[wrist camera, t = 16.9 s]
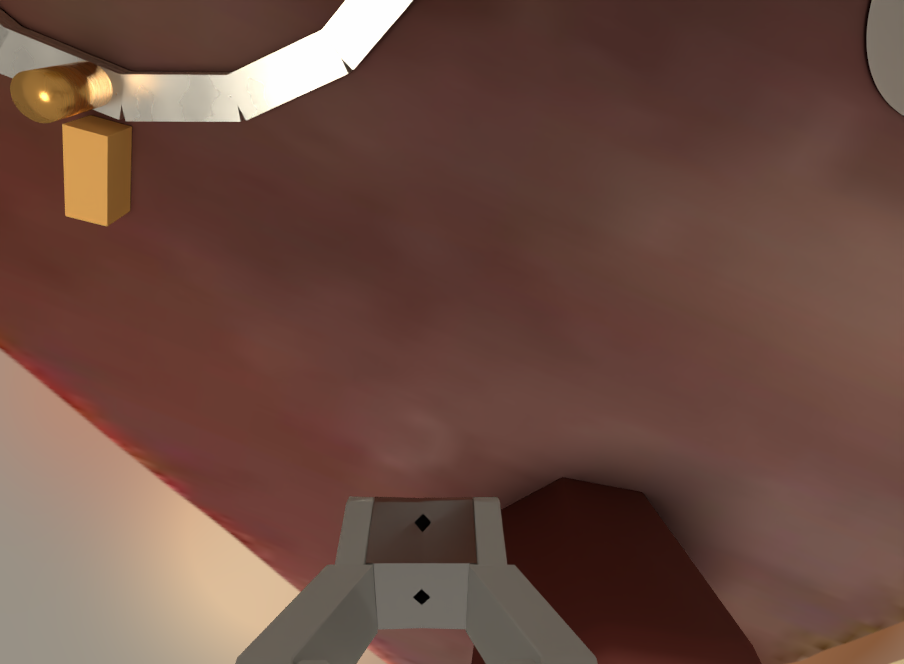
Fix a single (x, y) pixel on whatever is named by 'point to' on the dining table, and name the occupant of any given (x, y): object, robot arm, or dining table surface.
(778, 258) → the dining table surface
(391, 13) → the ring
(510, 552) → the bucket
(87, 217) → the pointer block
